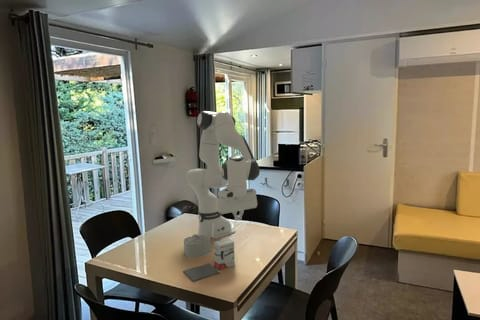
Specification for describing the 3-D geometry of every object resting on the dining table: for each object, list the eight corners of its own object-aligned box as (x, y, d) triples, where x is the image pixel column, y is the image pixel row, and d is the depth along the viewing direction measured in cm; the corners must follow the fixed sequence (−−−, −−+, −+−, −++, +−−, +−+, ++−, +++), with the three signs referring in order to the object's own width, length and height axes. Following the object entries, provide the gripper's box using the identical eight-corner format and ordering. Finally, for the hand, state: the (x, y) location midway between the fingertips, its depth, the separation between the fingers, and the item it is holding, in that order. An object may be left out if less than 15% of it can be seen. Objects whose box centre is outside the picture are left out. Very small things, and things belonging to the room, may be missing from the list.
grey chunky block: (183, 251, 178) (182, 235, 176) (207, 247, 182) (207, 231, 181) (187, 259, 168) (186, 242, 167) (213, 254, 172) (212, 238, 171)
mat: (208, 264, 161) (208, 263, 161) (219, 273, 152) (219, 272, 152) (183, 271, 154) (183, 270, 154) (193, 281, 145) (193, 280, 145)
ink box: (219, 270, 155) (218, 245, 153) (214, 266, 159) (213, 242, 157) (235, 265, 160) (234, 241, 158) (229, 261, 164) (228, 237, 162)
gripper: (252, 186, 167) (252, 214, 168) (215, 192, 156) (216, 222, 158) (259, 189, 161) (260, 217, 163) (221, 195, 151) (222, 225, 153)
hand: (238, 219), depth 160 cm, fingers closed
